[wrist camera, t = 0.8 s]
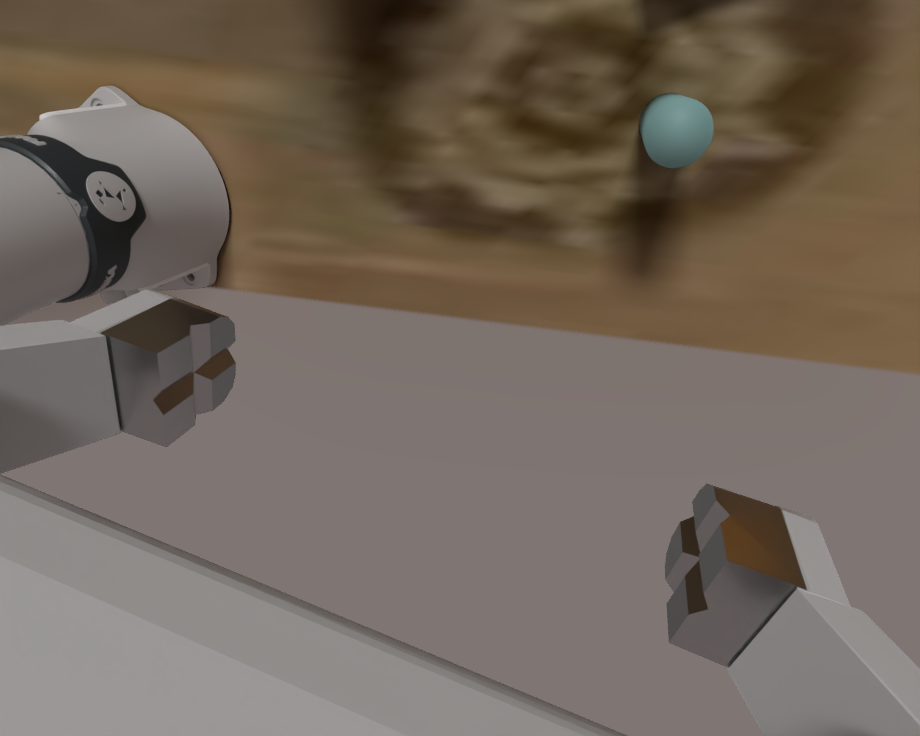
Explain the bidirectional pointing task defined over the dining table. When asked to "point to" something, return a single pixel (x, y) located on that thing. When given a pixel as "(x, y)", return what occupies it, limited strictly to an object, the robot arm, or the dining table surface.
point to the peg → (675, 130)
